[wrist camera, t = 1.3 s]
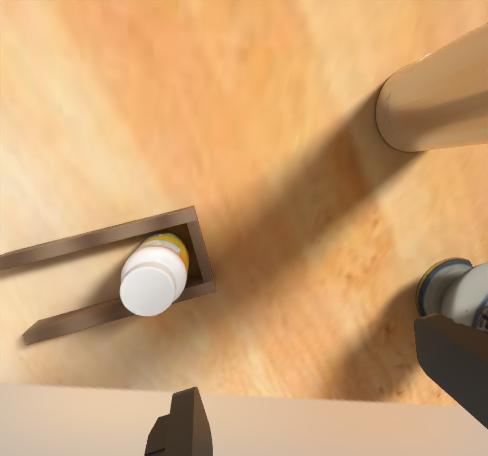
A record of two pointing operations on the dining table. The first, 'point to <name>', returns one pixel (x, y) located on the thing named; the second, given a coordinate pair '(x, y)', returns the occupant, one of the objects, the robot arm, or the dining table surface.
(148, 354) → the dining table surface
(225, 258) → the dining table surface
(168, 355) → the dining table surface
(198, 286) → the walnut U-rest
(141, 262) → the supplement bottle
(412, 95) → the robot arm
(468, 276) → the apothecary jar
